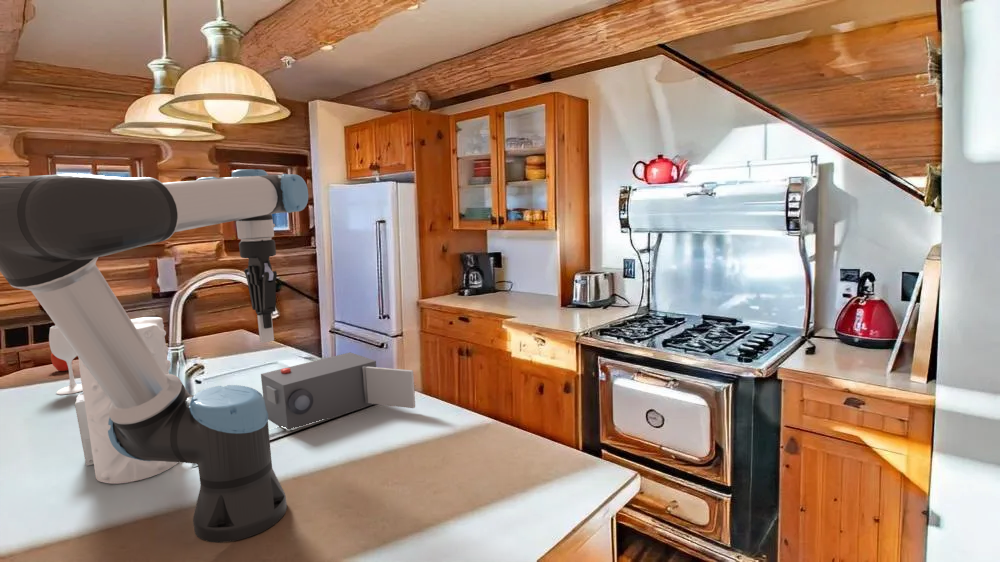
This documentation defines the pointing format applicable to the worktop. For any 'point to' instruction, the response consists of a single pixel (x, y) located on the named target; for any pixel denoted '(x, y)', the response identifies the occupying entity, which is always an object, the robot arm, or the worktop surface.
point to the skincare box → (84, 429)
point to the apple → (59, 363)
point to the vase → (97, 405)
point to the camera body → (315, 390)
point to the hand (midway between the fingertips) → (267, 341)
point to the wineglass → (64, 358)
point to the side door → (389, 386)
